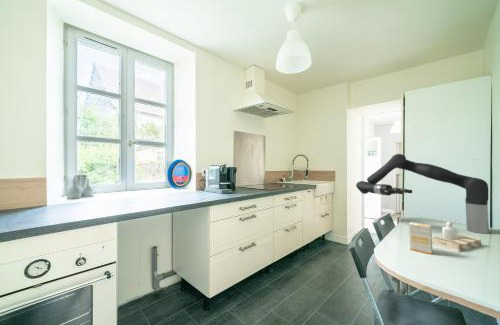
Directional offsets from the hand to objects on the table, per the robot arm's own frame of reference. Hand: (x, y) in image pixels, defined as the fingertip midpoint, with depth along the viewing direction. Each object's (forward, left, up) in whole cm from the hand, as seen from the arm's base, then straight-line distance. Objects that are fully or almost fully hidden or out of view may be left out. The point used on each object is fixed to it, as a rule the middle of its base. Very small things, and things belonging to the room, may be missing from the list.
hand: (407, 192), depth 128 cm
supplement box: (+25, +21, -25) cm, 41 cm away
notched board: (0, +23, -25) cm, 34 cm away
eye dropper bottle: (0, +20, -25) cm, 32 cm away
